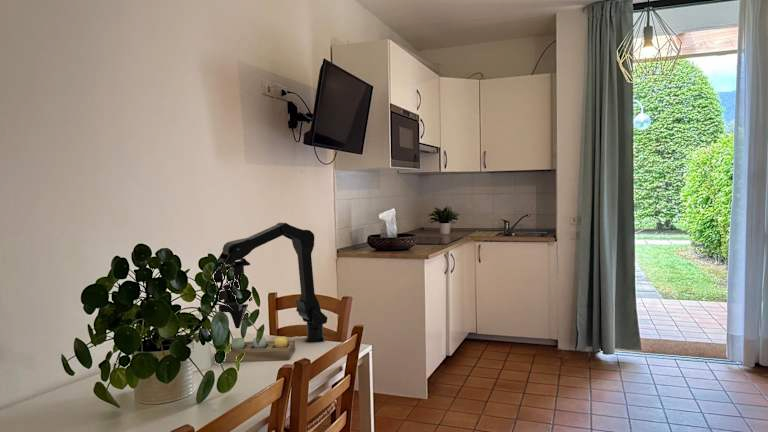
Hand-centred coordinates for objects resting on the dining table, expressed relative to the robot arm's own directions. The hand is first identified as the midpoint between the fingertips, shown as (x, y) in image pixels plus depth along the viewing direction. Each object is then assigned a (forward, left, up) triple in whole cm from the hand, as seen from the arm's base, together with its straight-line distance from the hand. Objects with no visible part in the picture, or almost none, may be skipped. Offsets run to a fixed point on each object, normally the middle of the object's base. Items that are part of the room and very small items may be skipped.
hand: (237, 328), depth 174 cm
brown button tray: (0, +7, -9) cm, 12 cm away
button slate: (0, +7, -8) cm, 10 cm away
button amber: (0, +14, -8) cm, 16 cm away
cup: (+10, -10, -10) cm, 17 cm away
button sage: (0, 0, -8) cm, 8 cm away
